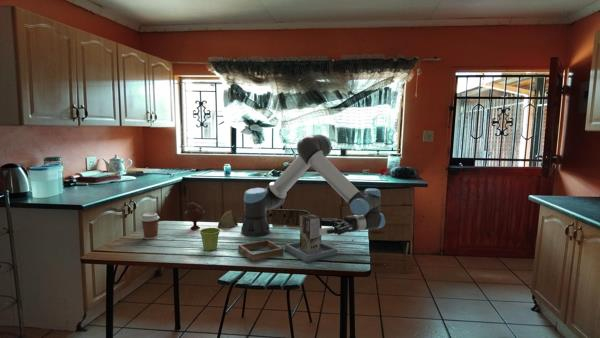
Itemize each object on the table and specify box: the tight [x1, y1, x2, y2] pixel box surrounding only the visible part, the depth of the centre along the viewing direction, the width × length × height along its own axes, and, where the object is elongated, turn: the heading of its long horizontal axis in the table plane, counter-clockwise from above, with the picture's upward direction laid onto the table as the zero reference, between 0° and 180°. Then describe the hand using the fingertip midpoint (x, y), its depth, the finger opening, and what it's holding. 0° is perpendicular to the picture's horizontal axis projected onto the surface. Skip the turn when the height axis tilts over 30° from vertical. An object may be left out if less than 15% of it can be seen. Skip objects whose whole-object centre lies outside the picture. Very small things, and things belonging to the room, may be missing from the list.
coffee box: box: [299, 213, 323, 254], centre depth 161 cm, size 9×6×16 cm
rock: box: [217, 209, 239, 228], centre depth 206 cm, size 11×9×10 cm
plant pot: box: [199, 227, 221, 252], centre depth 168 cm, size 9×9×9 cm
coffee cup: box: [140, 212, 161, 240], centre depth 184 cm, size 9×9×12 cm
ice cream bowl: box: [183, 201, 206, 231], centre depth 200 cm, size 11×11×15 cm
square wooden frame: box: [237, 239, 284, 262], centre depth 162 cm, size 15×15×3 cm
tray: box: [284, 240, 338, 264], centre depth 162 cm, size 18×16×3 cm
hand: (312, 227), depth 161 cm, fingers open, 13 cm apart
